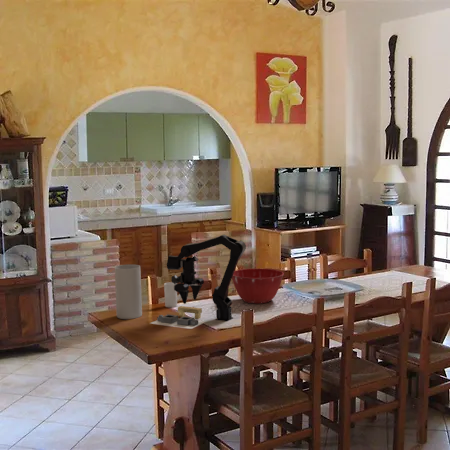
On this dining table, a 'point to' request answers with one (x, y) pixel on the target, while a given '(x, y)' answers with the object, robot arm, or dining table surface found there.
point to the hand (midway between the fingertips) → (189, 301)
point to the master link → (190, 311)
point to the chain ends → (178, 320)
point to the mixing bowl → (257, 284)
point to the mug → (170, 295)
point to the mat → (176, 324)
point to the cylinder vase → (128, 291)
